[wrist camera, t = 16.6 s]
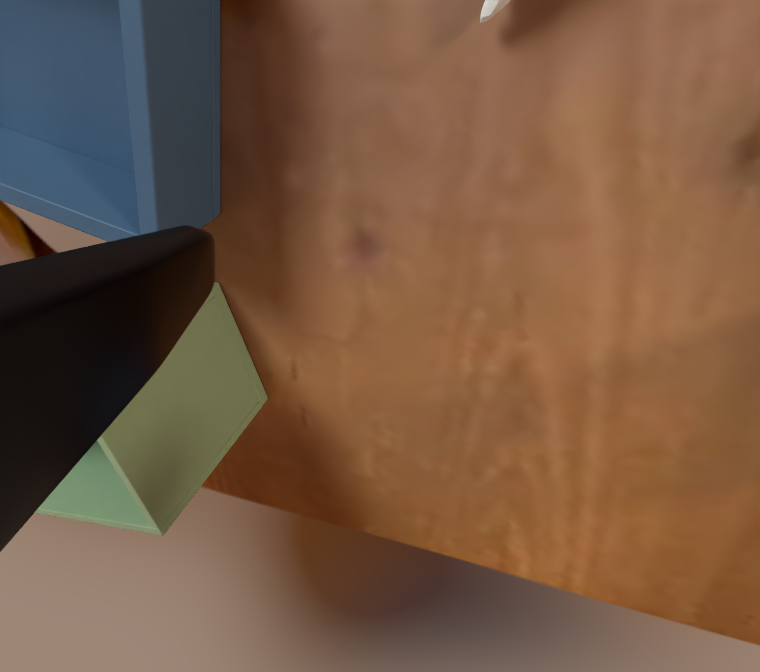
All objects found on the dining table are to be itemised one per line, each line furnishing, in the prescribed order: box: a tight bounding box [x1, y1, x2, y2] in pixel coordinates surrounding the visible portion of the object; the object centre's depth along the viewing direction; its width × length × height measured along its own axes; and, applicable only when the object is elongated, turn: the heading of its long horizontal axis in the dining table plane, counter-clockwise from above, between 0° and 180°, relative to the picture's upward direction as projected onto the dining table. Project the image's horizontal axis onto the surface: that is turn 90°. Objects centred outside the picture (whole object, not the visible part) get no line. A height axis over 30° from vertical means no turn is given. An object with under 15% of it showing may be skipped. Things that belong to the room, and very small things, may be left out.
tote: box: [0, 0, 220, 242], centre depth 23 cm, size 15×11×4 cm
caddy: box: [34, 282, 268, 536], centre depth 29 cm, size 10×7×8 cm, turn 105°
